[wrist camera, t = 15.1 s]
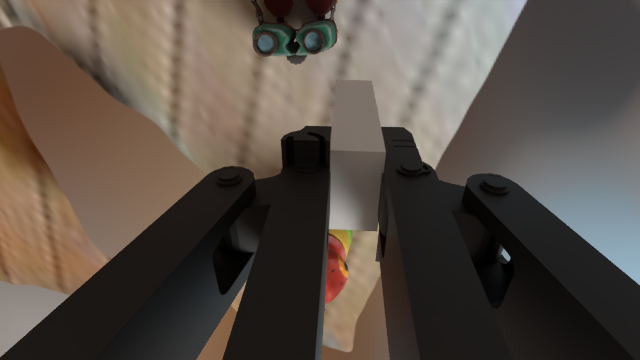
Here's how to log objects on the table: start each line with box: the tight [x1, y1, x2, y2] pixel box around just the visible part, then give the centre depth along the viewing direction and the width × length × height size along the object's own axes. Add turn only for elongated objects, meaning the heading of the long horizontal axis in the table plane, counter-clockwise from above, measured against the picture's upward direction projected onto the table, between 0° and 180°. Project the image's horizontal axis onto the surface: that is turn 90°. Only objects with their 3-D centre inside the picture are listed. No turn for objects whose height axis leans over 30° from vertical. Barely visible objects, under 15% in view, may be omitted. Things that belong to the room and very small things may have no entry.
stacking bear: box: [324, 229, 352, 311], centre depth 46 cm, size 11×10×18 cm
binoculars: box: [251, 0, 338, 65], centre depth 35 cm, size 9×11×10 cm
